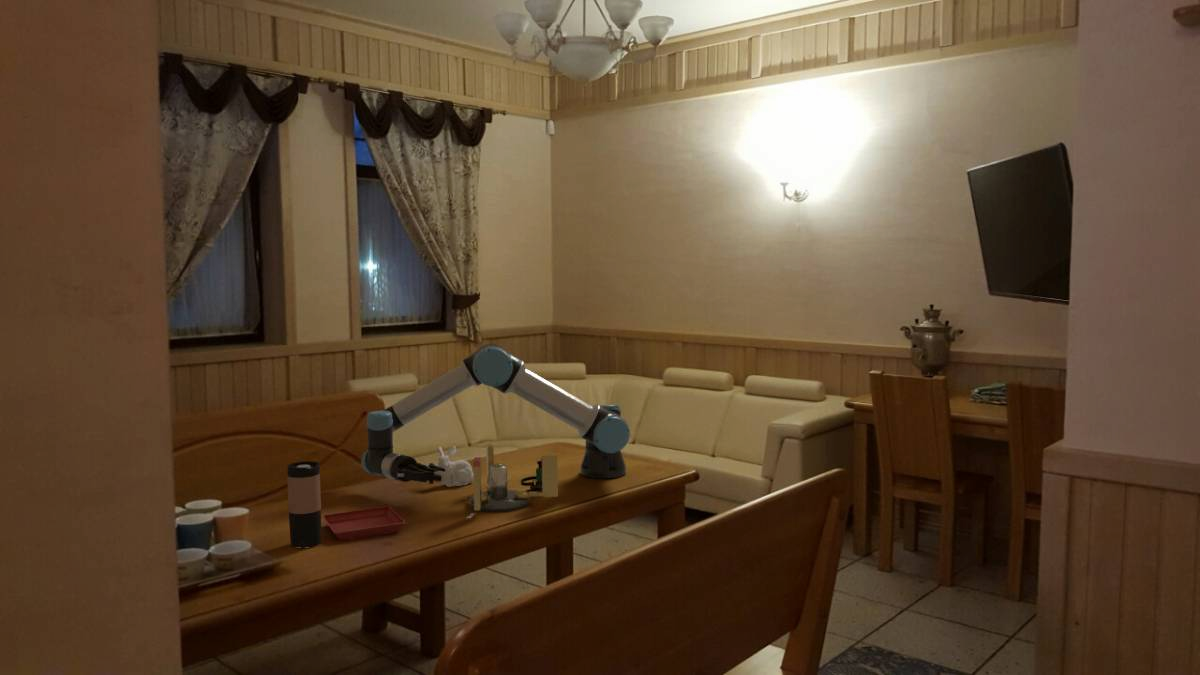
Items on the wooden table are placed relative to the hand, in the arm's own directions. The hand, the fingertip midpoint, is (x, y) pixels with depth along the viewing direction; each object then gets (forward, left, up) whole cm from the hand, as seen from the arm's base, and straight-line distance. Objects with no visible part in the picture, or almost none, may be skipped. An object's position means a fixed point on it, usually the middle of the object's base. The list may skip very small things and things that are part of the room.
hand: (451, 479), depth 244 cm
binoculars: (-16, -26, -9) cm, 32 cm away
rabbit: (+13, -29, -9) cm, 33 cm away
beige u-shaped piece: (-8, -1, -7) cm, 11 cm away
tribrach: (-13, -10, -9) cm, 19 cm away
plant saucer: (+15, +21, -10) cm, 28 cm away
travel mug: (+22, +36, -9) cm, 44 cm away
